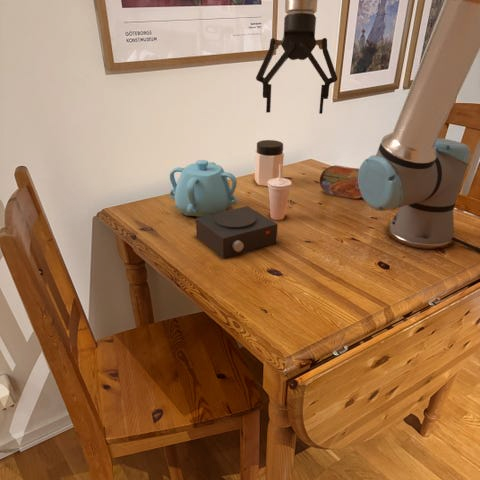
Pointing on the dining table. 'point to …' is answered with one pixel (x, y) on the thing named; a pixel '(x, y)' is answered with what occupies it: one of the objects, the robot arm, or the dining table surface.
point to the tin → (341, 181)
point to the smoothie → (278, 195)
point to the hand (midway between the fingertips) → (294, 113)
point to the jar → (268, 161)
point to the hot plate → (236, 231)
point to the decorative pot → (202, 189)
